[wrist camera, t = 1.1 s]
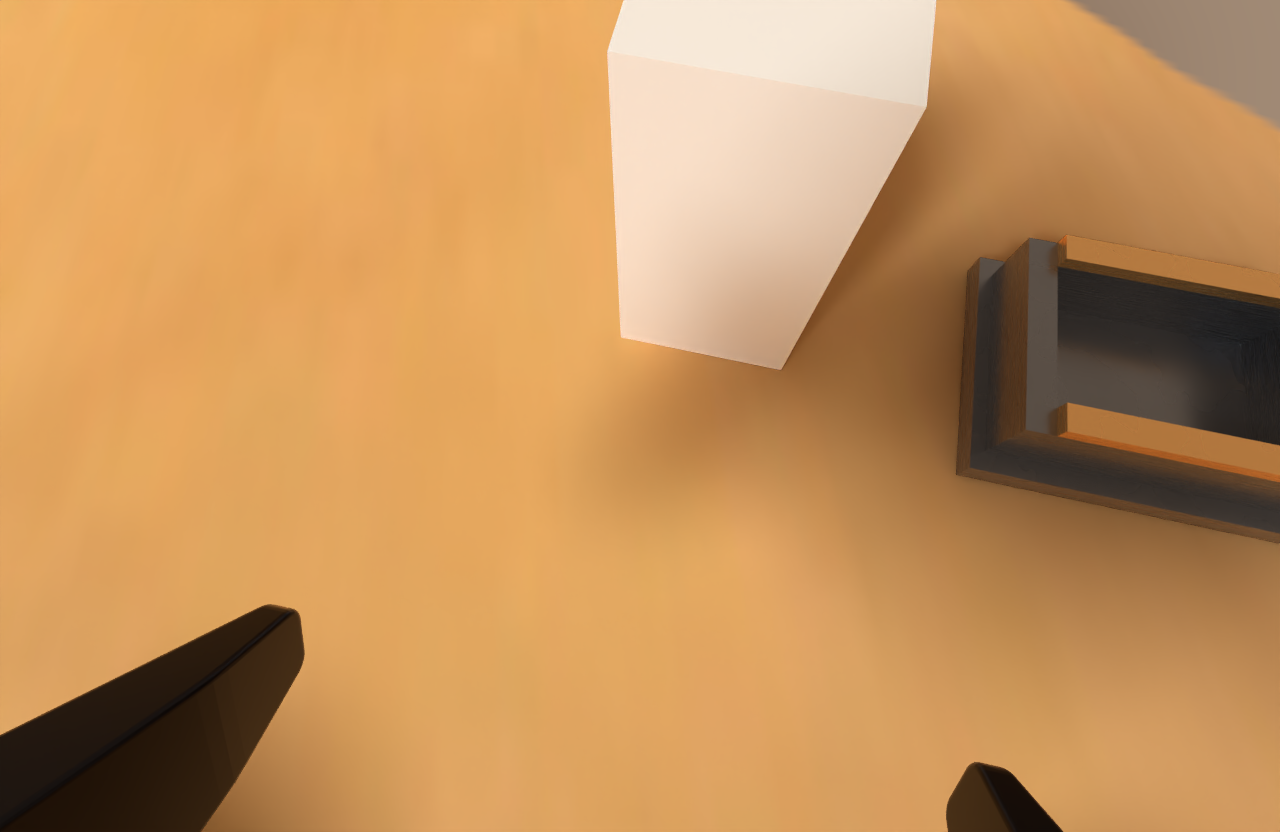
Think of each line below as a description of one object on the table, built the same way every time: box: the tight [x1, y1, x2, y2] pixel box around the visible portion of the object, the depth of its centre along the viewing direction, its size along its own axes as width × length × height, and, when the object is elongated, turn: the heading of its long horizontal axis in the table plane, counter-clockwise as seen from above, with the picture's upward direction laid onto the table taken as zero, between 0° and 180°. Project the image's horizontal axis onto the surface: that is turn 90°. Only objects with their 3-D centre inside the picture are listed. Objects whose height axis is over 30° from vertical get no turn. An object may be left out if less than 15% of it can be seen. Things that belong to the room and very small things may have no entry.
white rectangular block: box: [607, 0, 936, 370], centre depth 19 cm, size 4×6×13 cm, turn 77°
